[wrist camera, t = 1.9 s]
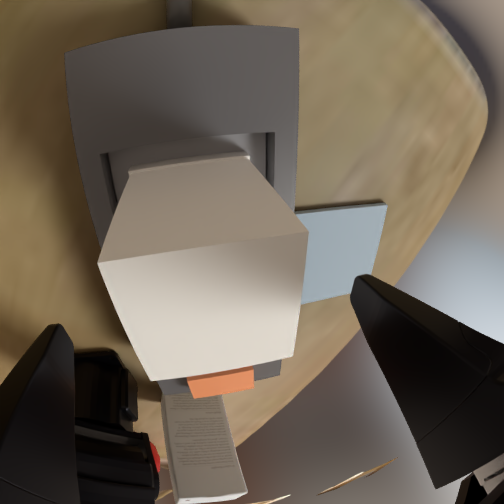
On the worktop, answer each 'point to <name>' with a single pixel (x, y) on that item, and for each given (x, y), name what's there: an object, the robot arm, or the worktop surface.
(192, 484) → the skincare box
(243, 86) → the gray recessed block
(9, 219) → the worktop surface
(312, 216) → the mat
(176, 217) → the block
